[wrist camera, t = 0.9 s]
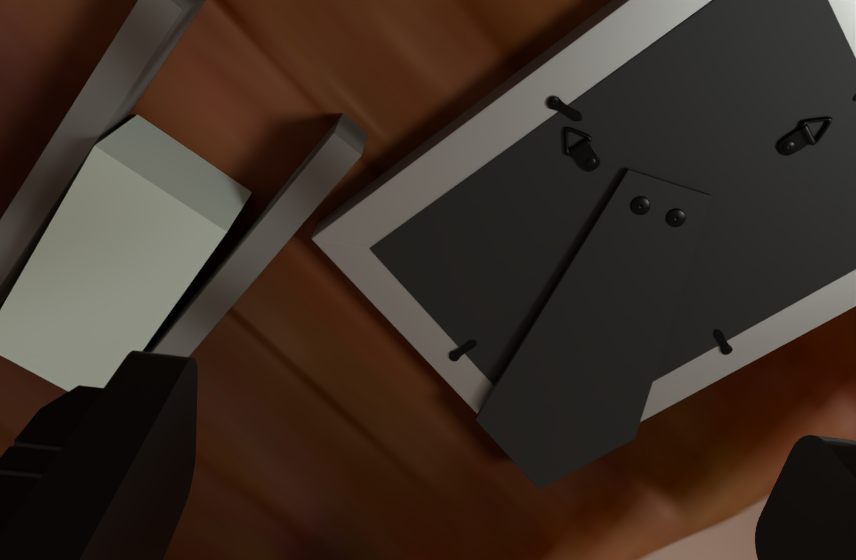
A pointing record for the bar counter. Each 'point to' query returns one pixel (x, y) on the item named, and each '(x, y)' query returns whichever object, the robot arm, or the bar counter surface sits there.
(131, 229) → the blank block
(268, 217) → the slot rack
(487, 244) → the picture frame
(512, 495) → the bar counter surface
